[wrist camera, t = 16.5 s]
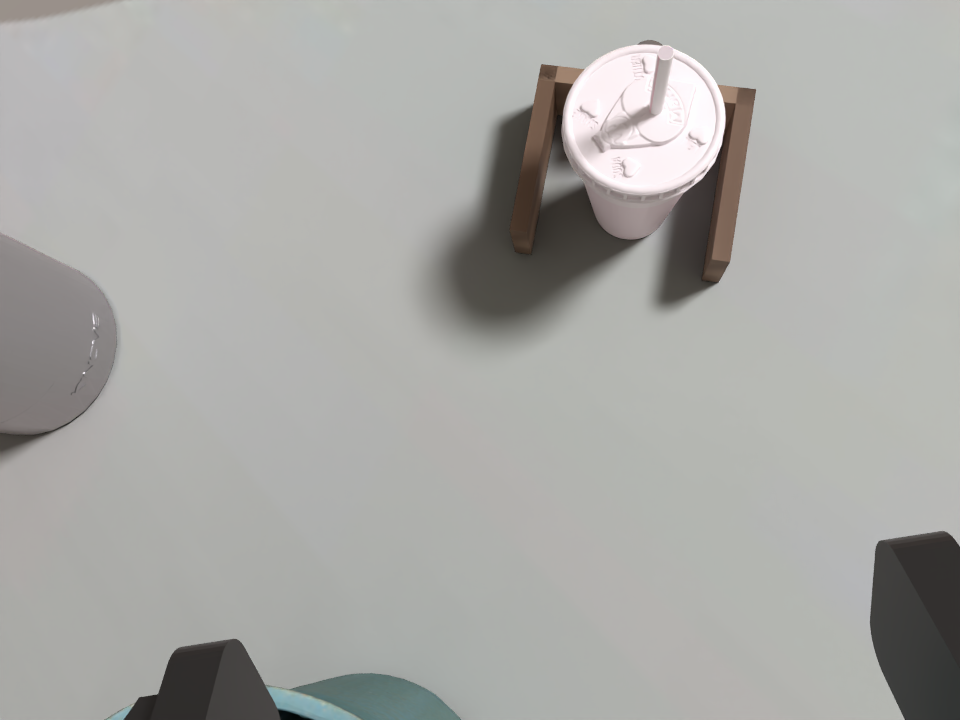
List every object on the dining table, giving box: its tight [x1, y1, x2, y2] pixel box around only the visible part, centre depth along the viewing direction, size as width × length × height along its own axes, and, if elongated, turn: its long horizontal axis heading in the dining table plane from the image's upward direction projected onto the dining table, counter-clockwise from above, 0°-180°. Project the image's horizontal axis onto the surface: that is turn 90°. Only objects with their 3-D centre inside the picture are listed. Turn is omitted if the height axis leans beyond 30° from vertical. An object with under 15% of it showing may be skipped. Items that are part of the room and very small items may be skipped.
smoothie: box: [561, 44, 725, 240], centre depth 37 cm, size 6×6×14 cm
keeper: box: [509, 40, 756, 282], centre depth 41 cm, size 10×9×6 cm
